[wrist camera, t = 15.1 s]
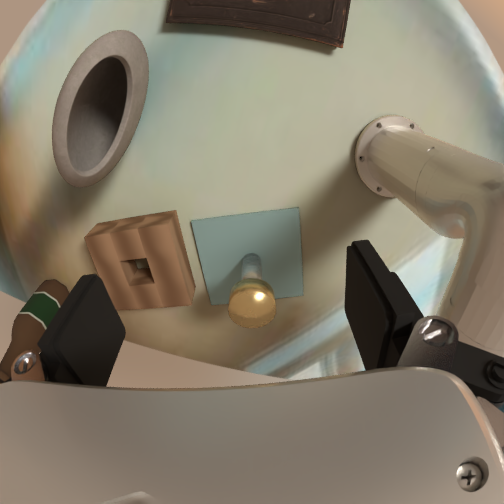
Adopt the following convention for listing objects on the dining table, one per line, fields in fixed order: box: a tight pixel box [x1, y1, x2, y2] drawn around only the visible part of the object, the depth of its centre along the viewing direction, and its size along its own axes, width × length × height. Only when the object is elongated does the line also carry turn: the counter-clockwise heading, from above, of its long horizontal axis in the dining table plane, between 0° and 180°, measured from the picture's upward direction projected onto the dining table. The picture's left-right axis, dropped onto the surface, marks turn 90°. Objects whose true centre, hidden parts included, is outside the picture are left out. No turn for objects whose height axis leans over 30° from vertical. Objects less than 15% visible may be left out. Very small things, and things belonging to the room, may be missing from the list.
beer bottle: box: [0, 280, 69, 384], centre depth 42 cm, size 8×8×24 cm
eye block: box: [84, 210, 196, 310], centre depth 46 cm, size 14×14×5 cm
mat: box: [191, 208, 303, 305], centre depth 49 cm, size 16×16×1 cm
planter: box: [52, 30, 149, 187], centre depth 28 cm, size 18×7×19 cm, turn 161°
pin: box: [228, 253, 276, 328], centre depth 44 cm, size 6×6×12 cm
